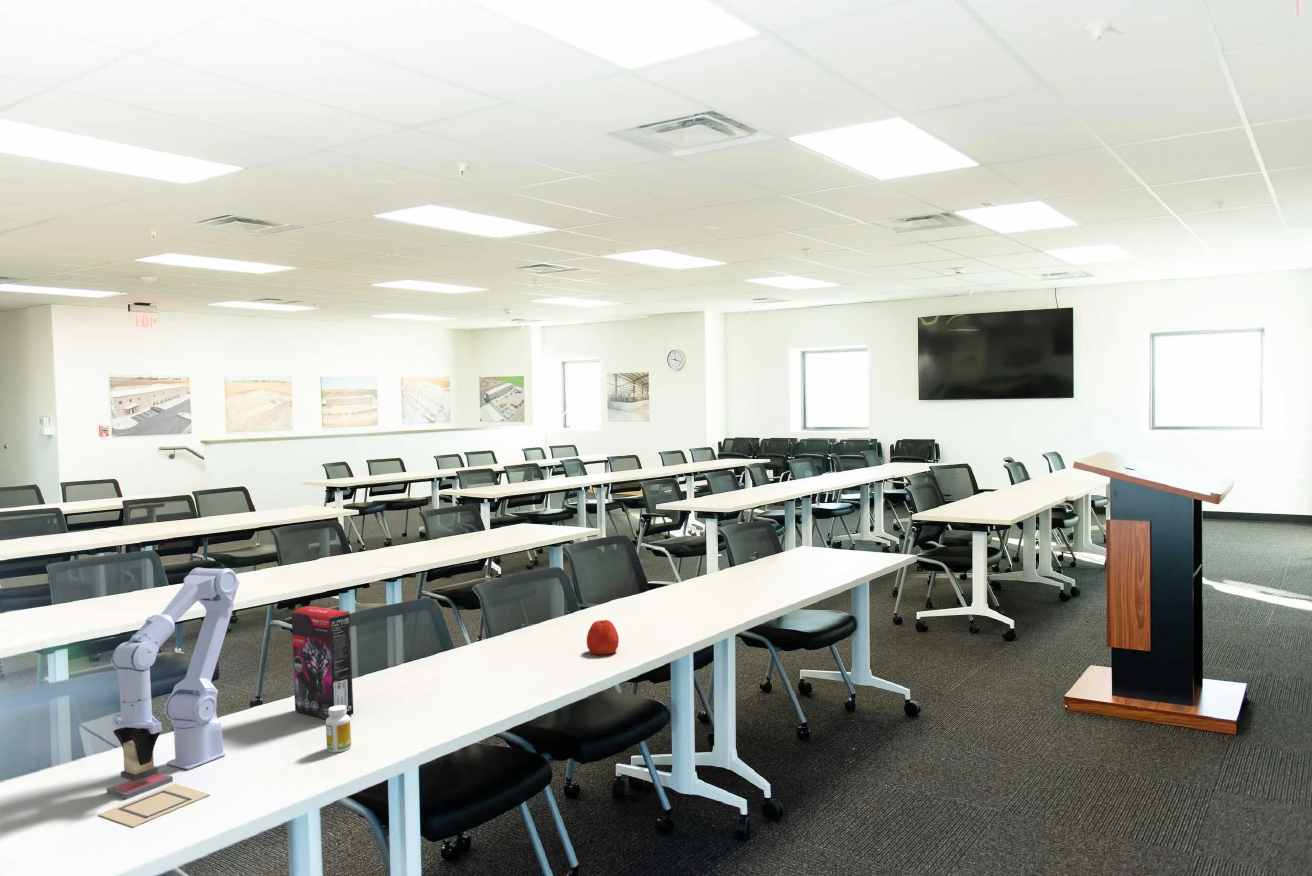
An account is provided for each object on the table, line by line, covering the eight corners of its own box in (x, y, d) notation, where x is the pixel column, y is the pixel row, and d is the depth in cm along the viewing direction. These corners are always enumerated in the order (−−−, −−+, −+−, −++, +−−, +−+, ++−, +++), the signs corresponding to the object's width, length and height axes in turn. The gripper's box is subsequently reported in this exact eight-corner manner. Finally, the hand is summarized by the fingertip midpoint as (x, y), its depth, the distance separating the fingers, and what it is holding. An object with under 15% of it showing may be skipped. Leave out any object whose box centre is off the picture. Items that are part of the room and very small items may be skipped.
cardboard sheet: (175, 784, 193) (175, 783, 193) (210, 795, 187) (210, 793, 187) (98, 815, 179) (98, 813, 179) (133, 827, 173) (133, 826, 173)
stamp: (144, 768, 196) (142, 736, 195) (157, 772, 193) (156, 739, 193) (120, 777, 191) (119, 743, 191) (134, 781, 189) (132, 747, 189)
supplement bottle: (354, 743, 214) (352, 703, 213) (347, 752, 208) (345, 711, 208) (331, 744, 214) (329, 704, 213) (323, 753, 208) (321, 712, 208)
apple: (606, 646, 295) (605, 614, 294) (625, 652, 287) (624, 619, 286) (580, 652, 288) (579, 620, 288) (599, 658, 280) (598, 625, 280)
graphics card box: (293, 712, 239) (288, 610, 238) (315, 704, 244) (311, 604, 244) (333, 722, 229) (329, 616, 228) (356, 714, 235) (351, 610, 234)
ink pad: (153, 775, 198) (153, 770, 198) (172, 781, 195) (172, 776, 195) (107, 793, 190) (106, 788, 190) (126, 799, 186) (126, 794, 186)
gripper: (97, 699, 192) (100, 762, 192) (136, 708, 185) (140, 774, 185) (130, 689, 198) (133, 751, 198) (170, 698, 191) (173, 761, 191)
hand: (138, 761), depth 192 cm, fingers closed on stamp, 4 cm apart
